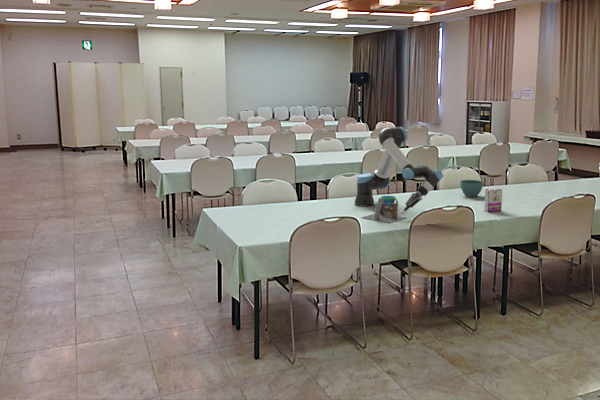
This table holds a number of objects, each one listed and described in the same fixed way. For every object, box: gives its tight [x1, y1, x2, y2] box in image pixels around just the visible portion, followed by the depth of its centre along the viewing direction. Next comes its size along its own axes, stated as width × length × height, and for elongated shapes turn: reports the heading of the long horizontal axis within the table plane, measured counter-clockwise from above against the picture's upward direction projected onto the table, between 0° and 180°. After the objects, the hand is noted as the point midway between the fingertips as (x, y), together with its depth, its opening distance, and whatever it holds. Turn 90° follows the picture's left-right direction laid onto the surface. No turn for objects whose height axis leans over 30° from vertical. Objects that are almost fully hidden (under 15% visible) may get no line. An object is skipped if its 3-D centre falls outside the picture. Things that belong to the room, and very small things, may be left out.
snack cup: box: [377, 195, 399, 212], centre depth 421 cm, size 16×10×10 cm
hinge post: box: [379, 197, 384, 215], centre depth 406 cm, size 5×5×12 cm
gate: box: [383, 202, 398, 219], centre depth 398 cm, size 14×2×10 cm, turn 28°
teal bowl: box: [459, 179, 484, 198], centre depth 470 cm, size 18×18×12 cm
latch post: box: [374, 201, 380, 220], centre depth 391 cm, size 5×3×12 cm, turn 172°
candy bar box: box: [484, 187, 503, 213], centre depth 415 cm, size 11×5×16 cm, turn 105°
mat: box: [360, 213, 407, 224], centre depth 398 cm, size 24×20×1 cm
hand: (401, 213), depth 394 cm, fingers closed
